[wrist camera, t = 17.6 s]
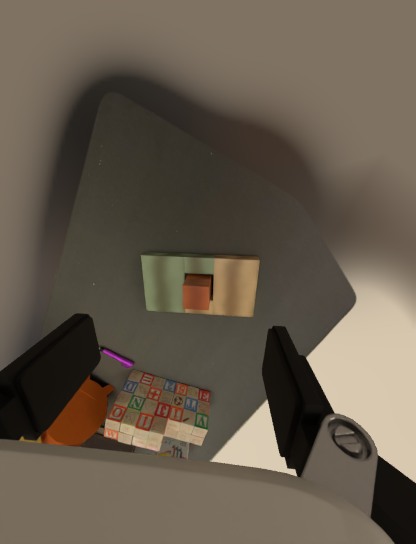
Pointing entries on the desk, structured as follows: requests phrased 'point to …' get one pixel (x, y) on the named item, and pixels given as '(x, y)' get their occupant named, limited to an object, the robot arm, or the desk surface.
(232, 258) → the green and tan board
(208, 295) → the reddish brown rectangular block
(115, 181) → the desk surface
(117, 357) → the purple and yellow rod
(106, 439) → the hardcover book
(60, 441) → the alarm clock
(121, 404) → the stack of blocks
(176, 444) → the ink box
